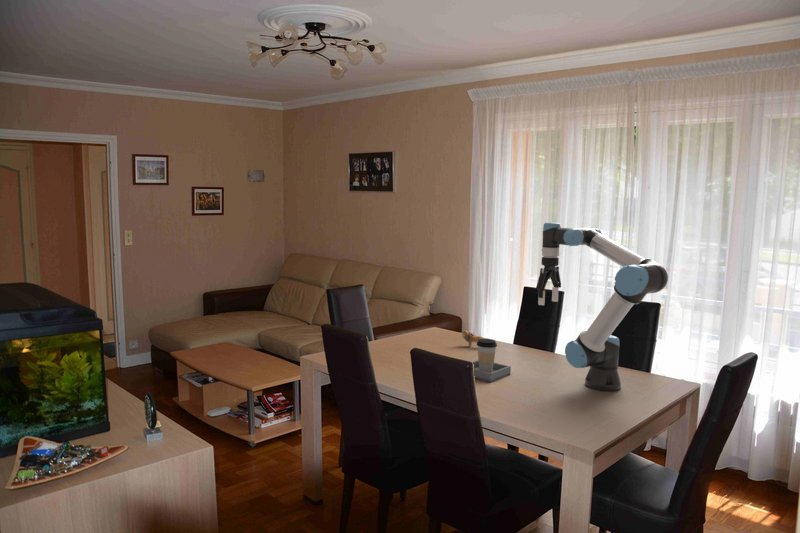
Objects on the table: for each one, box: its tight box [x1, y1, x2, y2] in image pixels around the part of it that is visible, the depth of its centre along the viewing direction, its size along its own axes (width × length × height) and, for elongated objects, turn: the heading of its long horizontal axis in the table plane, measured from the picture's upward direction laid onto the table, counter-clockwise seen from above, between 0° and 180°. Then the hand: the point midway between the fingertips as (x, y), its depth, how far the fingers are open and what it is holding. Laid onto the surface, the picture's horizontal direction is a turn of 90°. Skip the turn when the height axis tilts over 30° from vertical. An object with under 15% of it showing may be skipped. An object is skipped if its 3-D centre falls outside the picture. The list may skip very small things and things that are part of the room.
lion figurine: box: [462, 330, 484, 348], centre depth 330 cm, size 15×5×9 cm, turn 67°
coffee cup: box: [476, 338, 498, 373], centre depth 280 cm, size 9×9×15 cm
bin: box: [472, 359, 512, 383], centre depth 280 cm, size 17×17×4 cm
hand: (548, 303), depth 275 cm, fingers open, 13 cm apart
